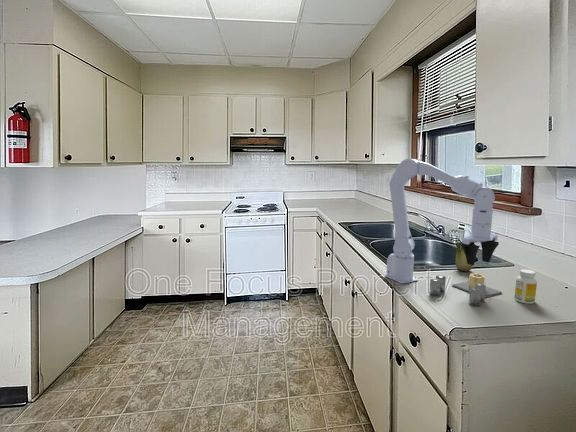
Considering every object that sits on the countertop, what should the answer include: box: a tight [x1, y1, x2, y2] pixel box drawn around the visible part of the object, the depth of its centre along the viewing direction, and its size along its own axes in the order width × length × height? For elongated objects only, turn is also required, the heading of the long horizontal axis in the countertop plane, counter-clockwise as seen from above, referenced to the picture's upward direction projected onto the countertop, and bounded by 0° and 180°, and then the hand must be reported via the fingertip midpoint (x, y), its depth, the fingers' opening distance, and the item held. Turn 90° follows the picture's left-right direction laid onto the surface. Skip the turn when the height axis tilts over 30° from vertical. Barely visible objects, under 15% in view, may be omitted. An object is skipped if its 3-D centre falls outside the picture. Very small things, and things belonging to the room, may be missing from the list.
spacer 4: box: [475, 283, 487, 303], centre depth 111 cm, size 3×3×5 cm
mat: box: [451, 280, 503, 298], centre depth 120 cm, size 12×9×1 cm
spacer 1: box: [429, 278, 441, 298], centre depth 115 cm, size 3×3×5 cm
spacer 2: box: [435, 274, 447, 293], centre depth 119 cm, size 3×3×5 cm
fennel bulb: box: [455, 241, 474, 272], centre depth 141 cm, size 6×5×12 cm
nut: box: [468, 273, 486, 288], centre depth 120 cm, size 5×4×4 cm
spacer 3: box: [468, 287, 481, 308], centre depth 107 cm, size 3×3×5 cm
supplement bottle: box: [513, 269, 538, 305], centre depth 110 cm, size 5×5×10 cm
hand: (478, 263), depth 119 cm, fingers open, 7 cm apart
